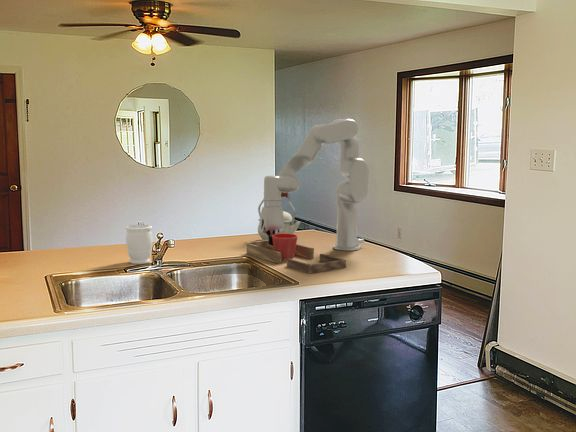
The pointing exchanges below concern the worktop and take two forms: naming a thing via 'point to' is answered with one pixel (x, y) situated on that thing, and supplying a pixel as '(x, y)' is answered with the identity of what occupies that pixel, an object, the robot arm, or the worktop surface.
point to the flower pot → (285, 244)
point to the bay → (328, 265)
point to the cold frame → (268, 253)
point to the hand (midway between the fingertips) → (272, 244)
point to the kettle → (288, 220)
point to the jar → (139, 243)
